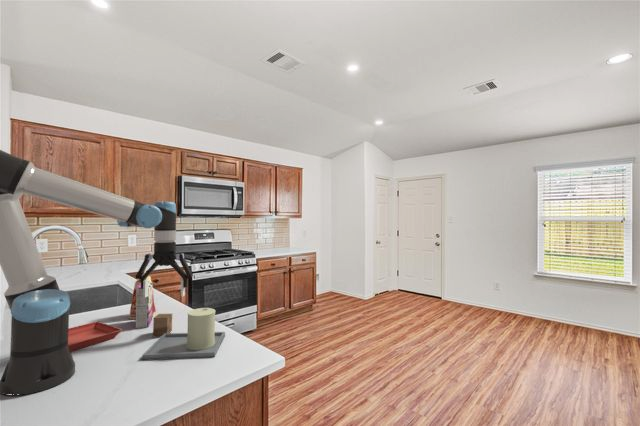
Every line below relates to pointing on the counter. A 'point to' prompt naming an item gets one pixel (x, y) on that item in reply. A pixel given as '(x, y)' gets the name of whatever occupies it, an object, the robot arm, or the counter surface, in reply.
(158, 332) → the walnut block
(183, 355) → the tray
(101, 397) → the counter surface
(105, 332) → the plant saucer
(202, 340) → the can
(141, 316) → the candy bar box
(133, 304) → the milk carton
